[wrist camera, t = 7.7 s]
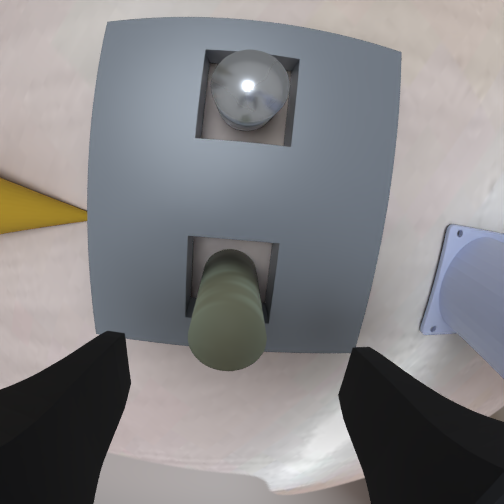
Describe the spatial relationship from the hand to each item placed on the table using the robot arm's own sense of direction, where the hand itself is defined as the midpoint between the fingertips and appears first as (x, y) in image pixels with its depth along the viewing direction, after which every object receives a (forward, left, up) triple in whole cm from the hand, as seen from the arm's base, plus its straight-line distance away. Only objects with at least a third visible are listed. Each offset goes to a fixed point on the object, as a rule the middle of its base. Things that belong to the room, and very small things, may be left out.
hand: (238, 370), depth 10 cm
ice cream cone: (+18, -3, -10) cm, 20 cm away
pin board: (0, -5, -9) cm, 10 cm away
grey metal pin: (0, -9, -9) cm, 13 cm away
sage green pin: (0, 0, -9) cm, 9 cm away
